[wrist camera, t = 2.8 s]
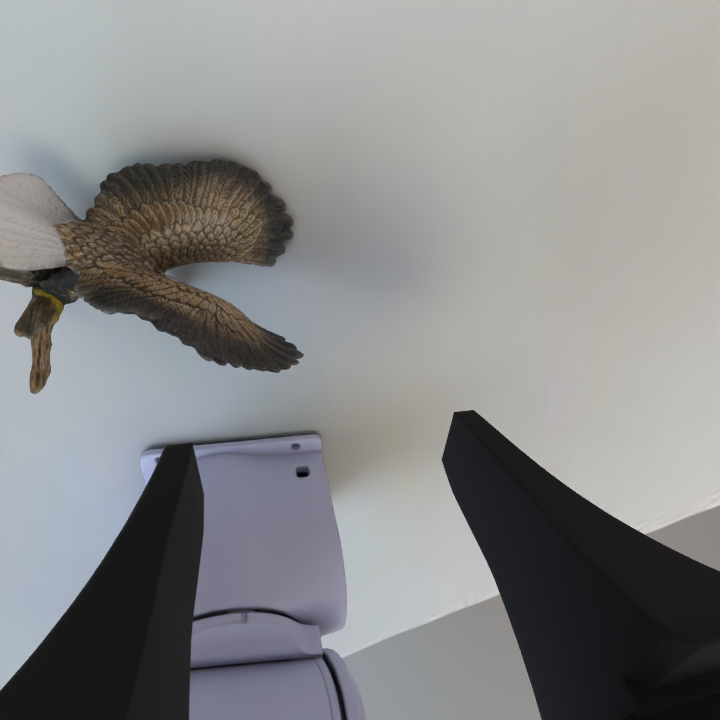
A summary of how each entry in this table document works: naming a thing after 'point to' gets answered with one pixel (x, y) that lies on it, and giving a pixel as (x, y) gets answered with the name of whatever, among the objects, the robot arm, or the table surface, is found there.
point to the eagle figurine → (146, 255)
